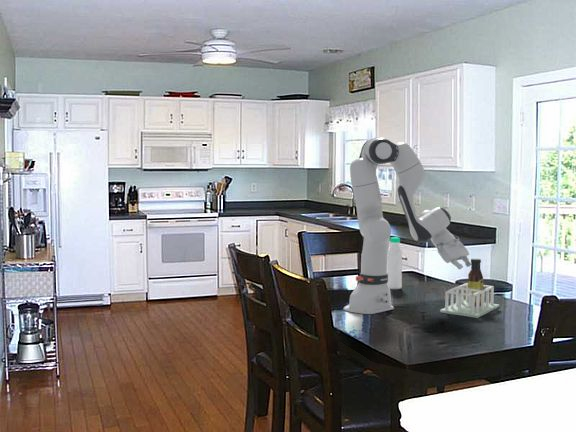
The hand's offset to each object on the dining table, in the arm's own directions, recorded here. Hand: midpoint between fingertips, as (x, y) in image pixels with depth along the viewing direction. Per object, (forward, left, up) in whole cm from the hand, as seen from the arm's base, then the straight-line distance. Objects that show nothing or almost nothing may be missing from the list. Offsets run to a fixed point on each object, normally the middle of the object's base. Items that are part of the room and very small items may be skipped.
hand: (465, 267), depth 277 cm
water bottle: (+17, +43, -17) cm, 49 cm away
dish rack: (-5, -4, -17) cm, 18 cm away
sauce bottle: (0, -5, -16) cm, 17 cm away
